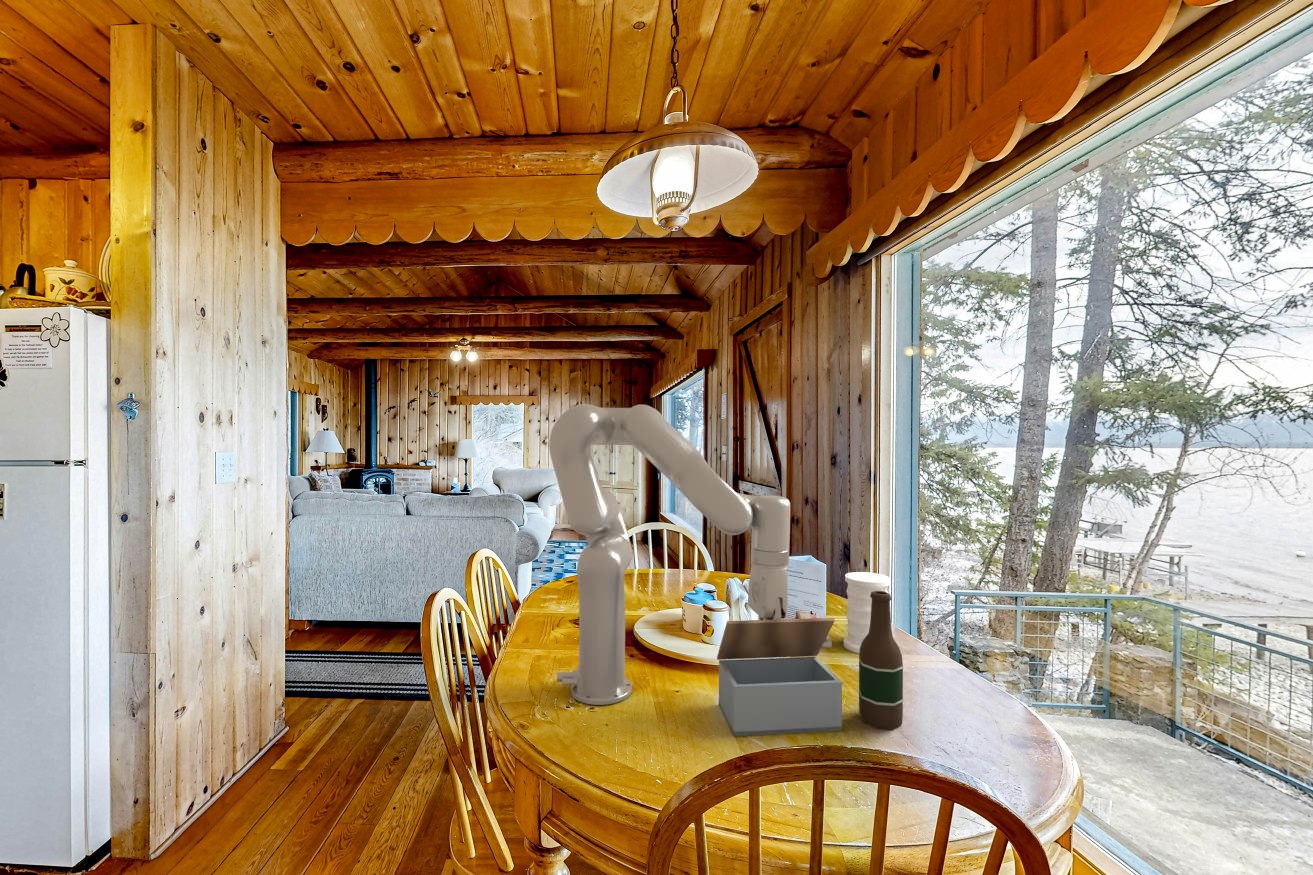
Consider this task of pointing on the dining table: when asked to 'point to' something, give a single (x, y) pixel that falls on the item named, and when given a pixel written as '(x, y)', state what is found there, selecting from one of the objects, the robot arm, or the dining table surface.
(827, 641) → the packaged product
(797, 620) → the lid
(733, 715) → the crate
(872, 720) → the beer bottle
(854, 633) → the decorative container
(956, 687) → the dining table surface
